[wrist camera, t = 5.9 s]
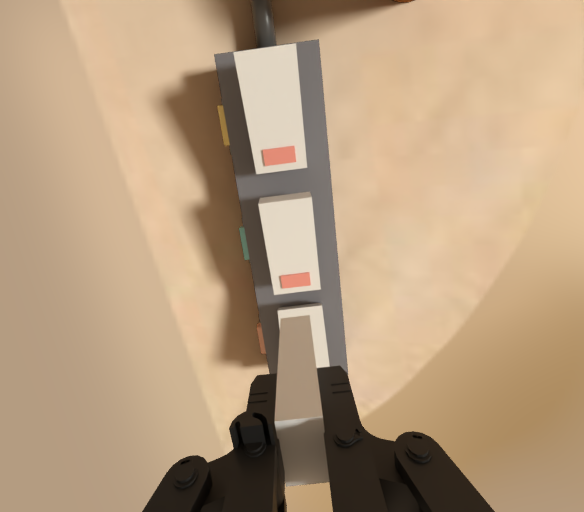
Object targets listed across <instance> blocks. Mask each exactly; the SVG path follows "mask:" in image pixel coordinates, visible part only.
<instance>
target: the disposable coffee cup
mask: <svg viewBox="0 0 584 512" xmlns="http://www.w3.org/2000/svg"><path fill="white" fill-rule="evenodd" d="M393 1H396V2H411V1H414V0H393Z"/></svg>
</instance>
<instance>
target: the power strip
mask: <svg viewBox="0 0 584 512" xmlns="http://www.w3.org/2000/svg"><path fill="white" fill-rule="evenodd" d="M251 8H252V15H253V22H254V29H255V37H256V44H257V48H255V49H260V48H267V47H274V46H281V45H276V37H275V28H274V20H273V12H272V4H271V0H251ZM290 44H295V43H290ZM283 45H288V44H283ZM296 49H297V60H298V71H299V82H300V94H301V105H302V116H303V127H304V138H305V149H306V160H307V168H301V169H294V170H286V171H278V172H271V173H263V174H256V170H255V164H254V159H253V154H252V148H251V143H250V138H249V133H248V127H247V122H246V117H245V111H244V106H243V101H242V96H241V90H240V85H239V80H238V74H237V69H236V64H235V59H234V53H233V52H228V53H221V54H214V57H215V62H216V68H217V74H218V80H219V85H220V91H221V97H222V99H221V102H222V105H220V106H217V108H218V114H219V120H220V125H221V131H222V136H223V142H224V146H229V148H230V154H231V155H232V160H233V166H234V172H235V178H236V183H237V189H238V195H239V201H240V206H241V212H242V222H243V226H240V228H239V231H240V237H241V243H242V248H243V254H244V259H245V260H249V263H250V264H251V270H252V275H253V281H254V287H255V293H256V299H257V304H258V310H259V320H260V323H258V324H257V332H258V338H259V343H260V349H261V354H266V356H267V362H268V368H269V373H270V374H275V373H277V370H278V353H279V337H280V328H279V319H278V309H279V308H281V307H289V306H298V305H306V304H315V303H321V304H322V309H323V317H324V325H325V333H326V341H327V349H328V357H329V365H330V366H339V365H340V366H341V367H342V368H343V369H344V370H345V371H346V372H347V375H348V367H347V356H346V345H345V333H344V322H343V310H342V299H341V287H340V276H339V264H338V253H337V242H336V230H335V219H334V207H333V196H332V184H331V173H330V161H329V150H328V139H327V127H326V116H325V104H324V93H323V81H322V70H321V59H320V47H319V39H318V40H311V41H304V42H297V43H296ZM248 50H253V49H248ZM241 51H246V50H241ZM235 52H239V51H235ZM302 192H310V193H311V196H312V205H313V215H314V225H315V235H316V245H317V256H318V266H319V276H320V286H321V289H320V290H312V291H303V292H295V293H287V294H278V295H274V291H273V286H272V280H271V274H270V268H269V263H268V257H267V251H266V246H265V240H264V234H263V228H262V223H261V217H260V211H259V206H258V203H259V200H260V198H264V197H271V196H279V195H287V194H295V193H302Z"/></svg>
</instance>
